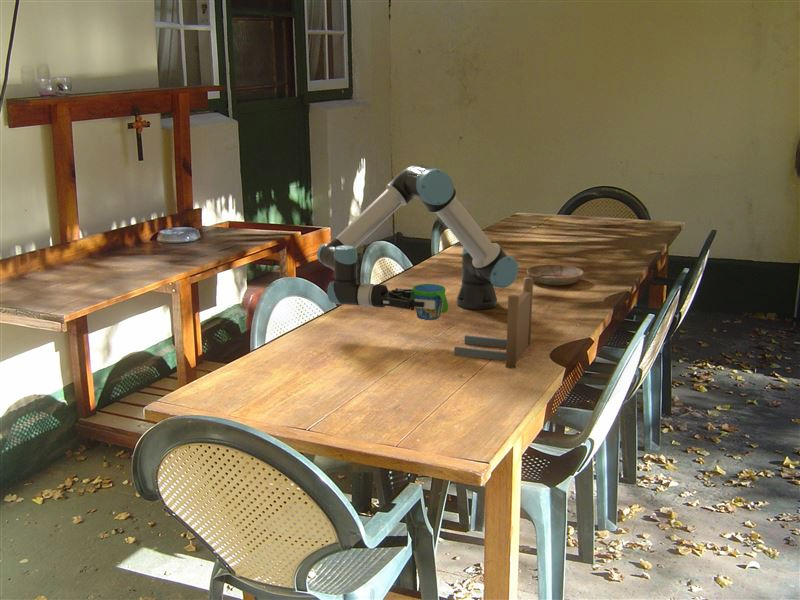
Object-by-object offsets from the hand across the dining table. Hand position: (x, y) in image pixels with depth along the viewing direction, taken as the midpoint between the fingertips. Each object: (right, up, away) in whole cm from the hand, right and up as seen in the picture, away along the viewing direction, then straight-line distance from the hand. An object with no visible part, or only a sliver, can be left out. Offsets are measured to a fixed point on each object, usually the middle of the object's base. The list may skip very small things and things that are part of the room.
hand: (439, 300), depth 301 cm
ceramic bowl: (+51, +7, +84) cm, 99 cm away
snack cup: (-3, -6, +3) cm, 7 cm away
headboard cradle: (+16, -16, -5) cm, 24 cm away
